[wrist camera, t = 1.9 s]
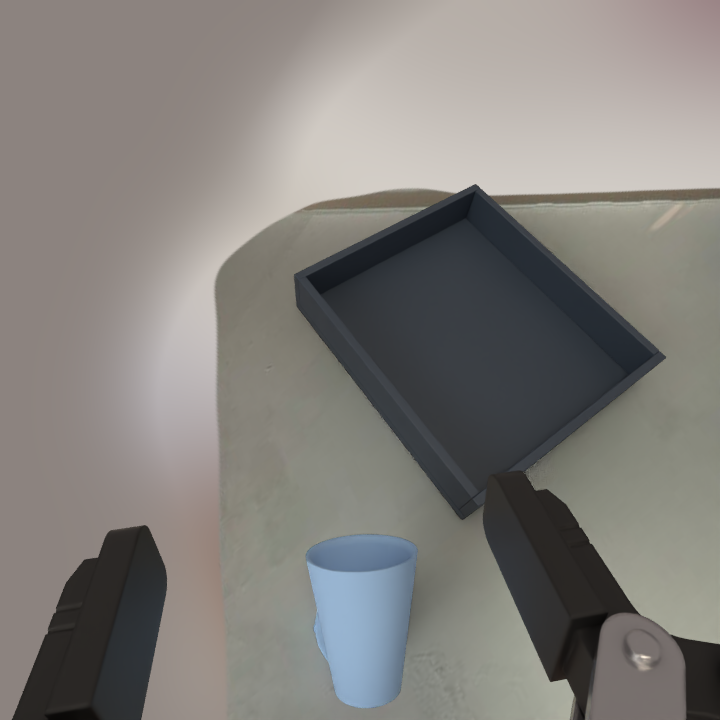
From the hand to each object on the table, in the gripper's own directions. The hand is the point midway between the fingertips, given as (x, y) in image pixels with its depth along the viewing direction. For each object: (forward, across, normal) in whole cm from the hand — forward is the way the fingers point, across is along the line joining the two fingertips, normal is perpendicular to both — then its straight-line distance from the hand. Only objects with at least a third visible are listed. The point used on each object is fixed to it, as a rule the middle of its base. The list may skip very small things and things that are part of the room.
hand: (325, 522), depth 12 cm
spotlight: (+8, -1, +17) cm, 19 cm away
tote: (+22, -12, +9) cm, 27 cm away
